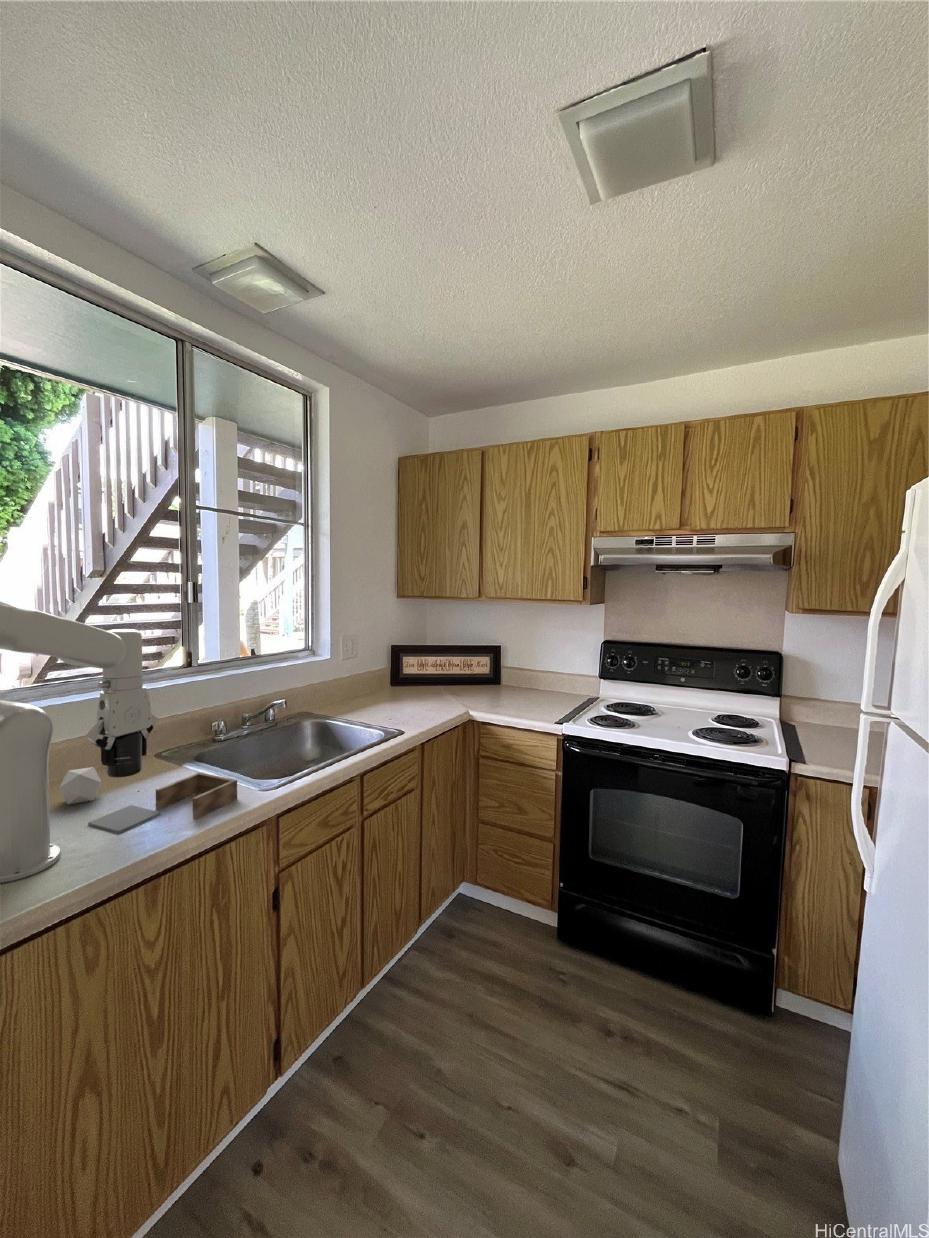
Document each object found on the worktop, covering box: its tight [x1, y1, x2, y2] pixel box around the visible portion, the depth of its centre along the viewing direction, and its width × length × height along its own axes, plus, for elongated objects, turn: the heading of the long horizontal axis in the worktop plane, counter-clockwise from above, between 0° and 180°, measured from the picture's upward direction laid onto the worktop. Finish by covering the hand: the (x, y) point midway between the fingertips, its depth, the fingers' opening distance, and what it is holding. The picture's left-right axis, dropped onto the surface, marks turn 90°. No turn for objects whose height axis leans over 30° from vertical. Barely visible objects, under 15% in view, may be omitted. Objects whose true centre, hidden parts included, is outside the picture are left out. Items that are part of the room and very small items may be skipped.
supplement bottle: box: [106, 732, 143, 779], centre depth 116 cm, size 7×7×12 cm
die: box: [58, 766, 103, 805], centre depth 126 cm, size 8×9×10 cm
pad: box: [87, 805, 162, 834], centre depth 117 cm, size 10×10×1 cm
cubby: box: [155, 772, 238, 820], centre depth 126 cm, size 12×13×5 cm
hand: (124, 759), depth 116 cm, fingers closed on supplement bottle, 6 cm apart
